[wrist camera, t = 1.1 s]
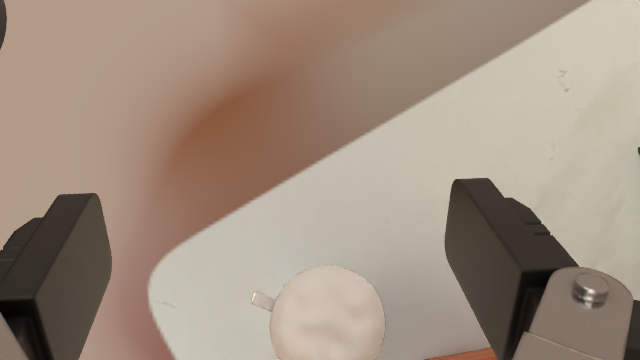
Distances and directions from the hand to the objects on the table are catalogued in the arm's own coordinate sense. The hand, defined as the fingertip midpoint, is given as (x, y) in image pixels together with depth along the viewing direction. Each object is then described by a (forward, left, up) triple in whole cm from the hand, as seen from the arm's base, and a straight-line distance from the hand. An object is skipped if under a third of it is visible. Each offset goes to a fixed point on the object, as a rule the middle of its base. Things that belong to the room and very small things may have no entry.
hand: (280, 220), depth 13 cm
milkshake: (+3, +2, -18) cm, 18 cm away
